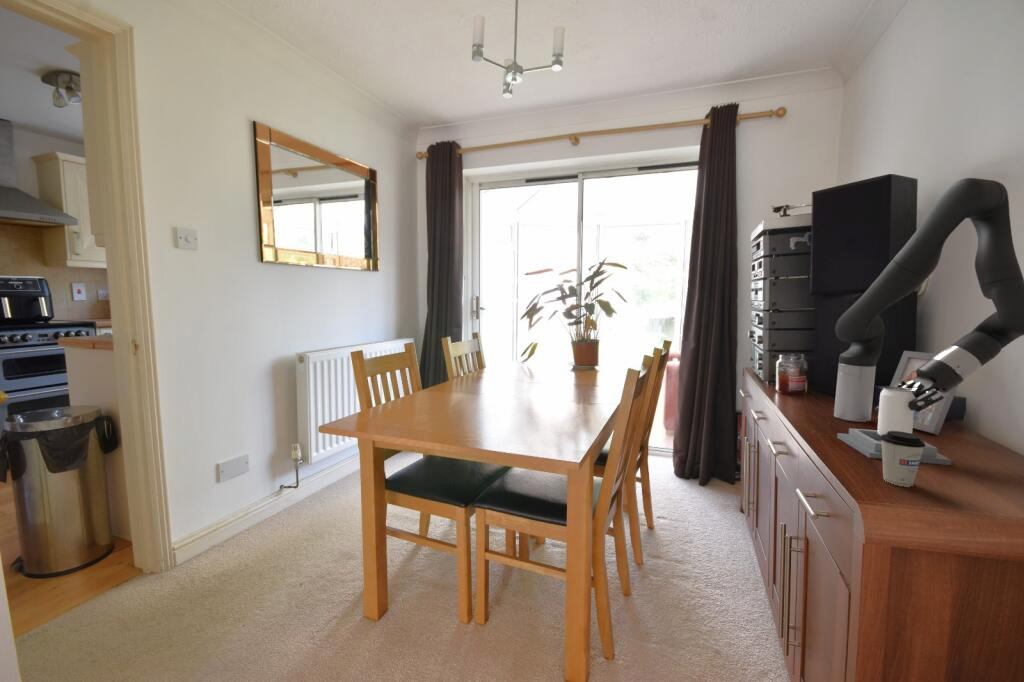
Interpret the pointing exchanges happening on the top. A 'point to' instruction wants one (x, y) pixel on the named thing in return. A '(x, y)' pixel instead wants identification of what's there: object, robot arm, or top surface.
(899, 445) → the coffee cup
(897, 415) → the can
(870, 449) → the can dock
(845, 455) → the top surface
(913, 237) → the robot arm
